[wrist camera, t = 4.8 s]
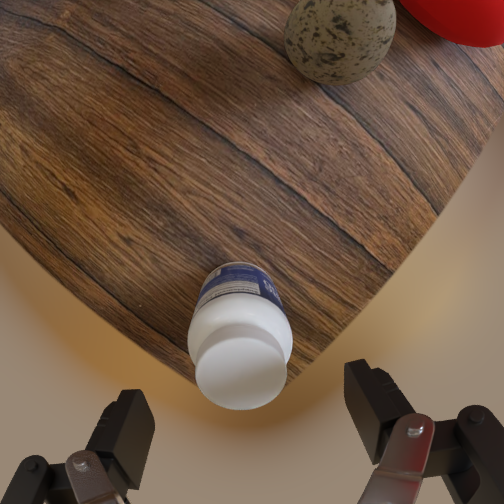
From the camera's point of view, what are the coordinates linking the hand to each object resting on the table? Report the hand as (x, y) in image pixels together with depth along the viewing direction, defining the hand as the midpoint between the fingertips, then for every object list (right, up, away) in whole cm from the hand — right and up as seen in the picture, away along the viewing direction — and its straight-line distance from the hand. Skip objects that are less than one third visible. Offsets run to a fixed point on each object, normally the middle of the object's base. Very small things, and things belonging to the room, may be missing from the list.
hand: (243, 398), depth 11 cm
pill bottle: (-1, +2, +11) cm, 12 cm away
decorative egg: (+5, +19, +8) cm, 21 cm away
